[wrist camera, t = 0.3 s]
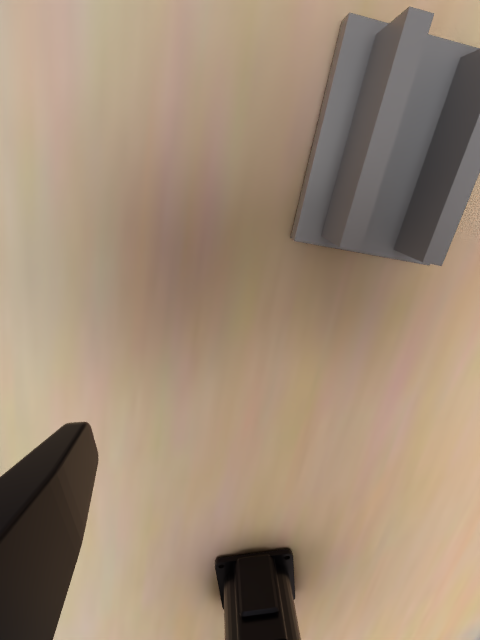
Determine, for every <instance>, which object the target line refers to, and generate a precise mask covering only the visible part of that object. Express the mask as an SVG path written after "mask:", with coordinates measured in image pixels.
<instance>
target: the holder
mask: <svg viewBox="0 0 480 640" xmlns="http://www.w3.org/2000/svg"><path fill="white" fill-rule="evenodd" d="M433 16H434V13H430V12H427V11H423V10H420V9H416V8H413V7H408V8H407V9H406V10H405V11H404V12H402V13H401V14H400V15H399V16H398V17H396V18H395V19H394V20H393V21H392V22H390V23H385V22H382V21H378V20H374V19H371V18H367V17H364V16H360V15H356V14H353V13H349V14H348V15H347V16H346V17H345V18H344V19H343V21H342V23H341V27H340V31H339V36H338V40H337V44H336V48H335V52H334V57H333V61H332V65H331V69H330V73H329V78H328V82H327V86H326V90H325V94H324V99H323V103H322V107H321V111H320V116H319V120H318V124H317V128H316V132H315V137H314V141H313V145H312V149H311V153H310V158H309V162H308V166H307V170H306V174H305V179H304V183H303V187H302V191H301V195H300V200H299V204H298V208H297V212H296V216H295V221H294V225H293V229H292V233H291V237H290V238H292V239H293V240H294V241H298V242H303V243H309V244H314V245H320V246H325V247H331V248H336V249H342V250H347V251H353V252H358V253H364V254H369V255H375V256H380V257H386V258H391V259H397V260H402V261H408V262H413V263H419V264H424V265H430V264H434V265H439V266H442V264H443V261H444V259H445V257H446V254H447V252H448V249H449V247H450V244H451V242H452V239H453V237H454V234H455V232H456V229H457V227H458V224H459V222H460V220H461V217H462V215H463V212H464V210H465V207H466V205H467V202H468V200H469V197H470V195H471V192H472V190H473V187H474V185H475V182H476V180H477V178H478V175H479V173H480V49H479V48H476V47H472V46H468V45H465V44H461V43H458V42H454V41H450V40H447V39H443V38H440V37H436V36H432V35H429V34H428V32H429V29H430V26H431V22H432V19H433Z"/></svg>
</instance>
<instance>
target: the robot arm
mask: <svg viewBox="0 0 480 640" xmlns="http://www.w3.org/2000/svg"><path fill="white" fill-rule="evenodd" d="M97 466H98V451H97V447H96V443H95V440H94V436H93V433H92V429H91V426H90V425H89V423H87V422H74V423H67V424H65V425H63V426H62V427H61V428H60V429H58V430H57V431H56V432H55V433H54V434H52V435H51V436H50V437H49V438H47V439H46V440H45V441H44V442H42V443H41V444H40V445H39V446H38V447H36V448H35V449H34V450H33V451H31V452H30V453H29V454H28V455H27V456H25V457H24V458H23V459H22V460H20V461H19V462H18V463H17V464H16V465H14V466H13V467H12V468H11V469H9V470H8V471H7V472H6V473H5V474H3V475H2V476H1V477H0V640H53V637H54V634H55V631H56V627H57V624H58V621H59V618H60V614H61V611H62V608H63V605H64V601H65V598H66V595H67V592H68V588H69V585H70V582H71V578H72V575H73V572H74V569H75V565H76V562H77V559H78V556H79V552H80V548H81V545H82V541H83V536H84V532H85V527H86V522H87V517H88V512H89V507H90V502H91V496H92V491H93V486H94V481H95V476H96V471H97ZM215 569H216V574H217V580H218V585H219V591H220V596H221V601H222V607H223V609H224V620H225V640H301V637H300V632H299V627H298V621H297V616H296V611H295V605H294V599H295V586H294V567H293V555H292V551H291V550H289V549H283V550H275V551H268V552H260V553H252V554H245V555H237V556H229V557H222V558H218V559H216V561H215Z"/></svg>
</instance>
